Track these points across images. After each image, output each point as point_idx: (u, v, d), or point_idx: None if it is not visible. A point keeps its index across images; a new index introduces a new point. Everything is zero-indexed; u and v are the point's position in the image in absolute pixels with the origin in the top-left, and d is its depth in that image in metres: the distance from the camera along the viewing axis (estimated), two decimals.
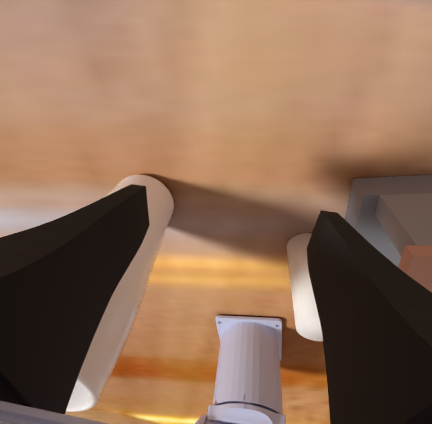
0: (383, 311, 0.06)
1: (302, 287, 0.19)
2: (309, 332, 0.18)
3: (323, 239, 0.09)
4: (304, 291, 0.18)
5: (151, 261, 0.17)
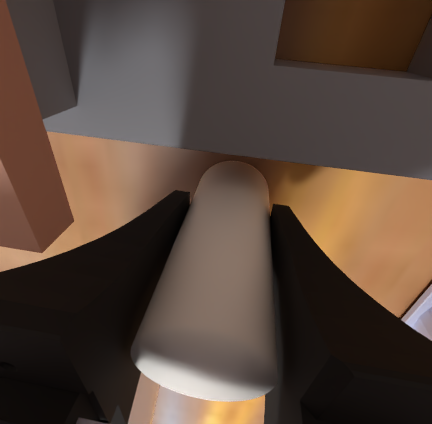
0: (297, 297, 0.06)
1: None
2: (225, 389, 0.06)
3: (272, 232, 0.09)
4: None
5: None
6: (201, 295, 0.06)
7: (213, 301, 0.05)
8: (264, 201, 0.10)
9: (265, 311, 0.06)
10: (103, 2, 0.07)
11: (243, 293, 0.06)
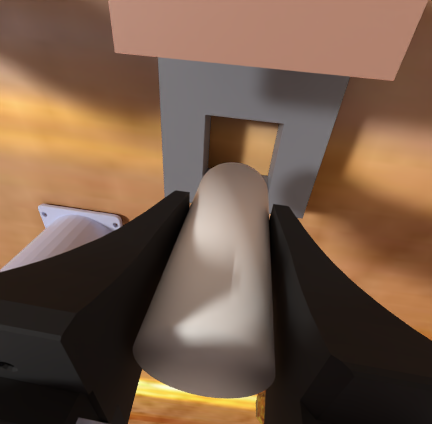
0: (297, 297, 0.06)
1: None
2: (221, 386, 0.07)
3: (272, 231, 0.09)
4: None
5: None
6: (209, 296, 0.06)
7: (221, 302, 0.06)
8: (265, 206, 0.10)
9: (268, 314, 0.06)
10: None
11: (248, 296, 0.06)
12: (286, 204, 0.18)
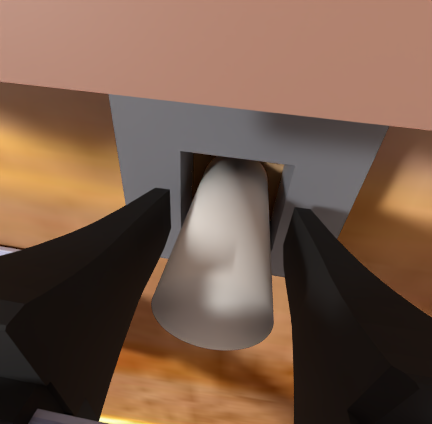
0: (336, 303, 0.06)
1: None
2: (226, 337, 0.08)
3: (295, 235, 0.09)
4: None
5: None
6: (217, 254, 0.07)
7: (227, 259, 0.07)
8: (265, 190, 0.11)
9: (267, 274, 0.07)
10: None
11: (250, 256, 0.07)
12: None
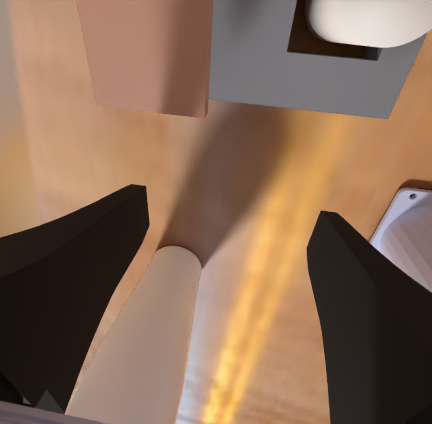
0: (383, 311, 0.06)
1: None
2: None
3: (323, 239, 0.09)
4: None
5: (156, 305, 0.19)
6: None
7: None
8: None
9: None
10: None
11: None
12: None
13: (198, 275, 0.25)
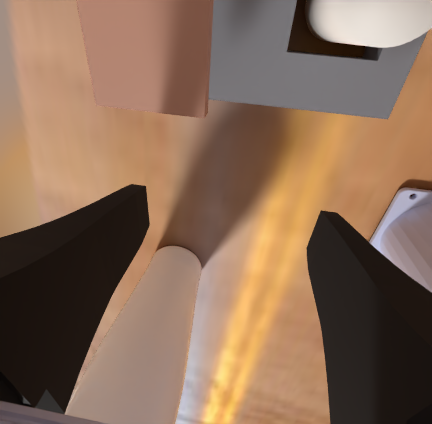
0: (382, 311, 0.06)
1: None
2: None
3: (323, 239, 0.09)
4: None
5: (156, 305, 0.19)
6: None
7: None
8: None
9: None
10: None
11: None
12: None
13: (198, 275, 0.25)
